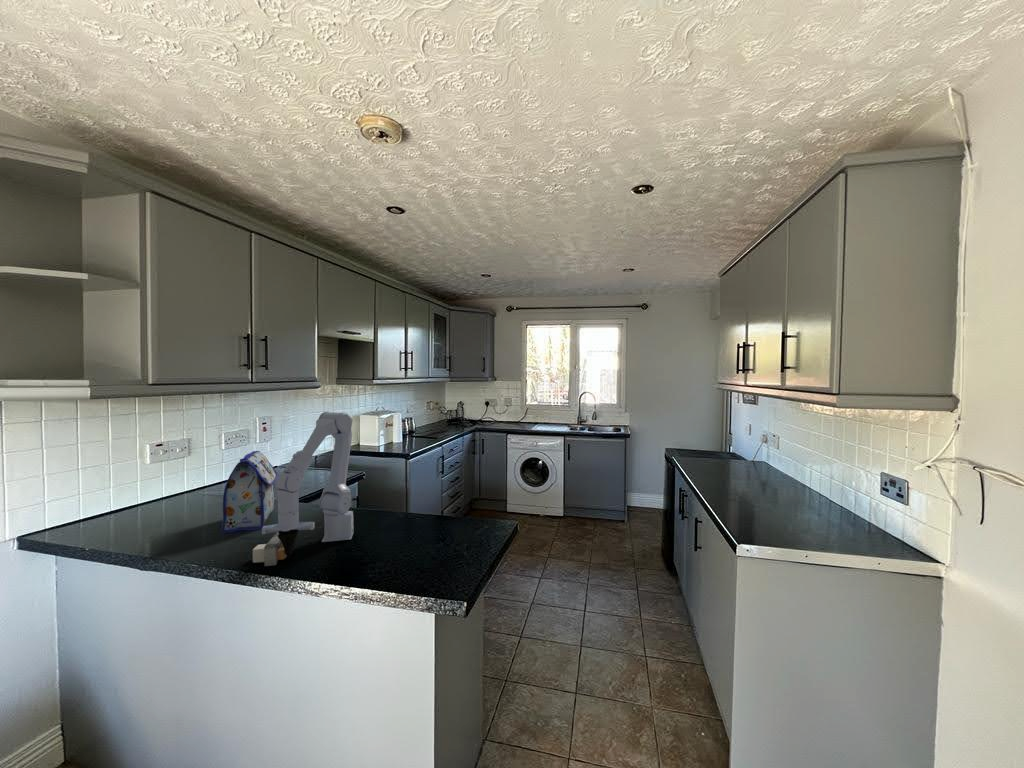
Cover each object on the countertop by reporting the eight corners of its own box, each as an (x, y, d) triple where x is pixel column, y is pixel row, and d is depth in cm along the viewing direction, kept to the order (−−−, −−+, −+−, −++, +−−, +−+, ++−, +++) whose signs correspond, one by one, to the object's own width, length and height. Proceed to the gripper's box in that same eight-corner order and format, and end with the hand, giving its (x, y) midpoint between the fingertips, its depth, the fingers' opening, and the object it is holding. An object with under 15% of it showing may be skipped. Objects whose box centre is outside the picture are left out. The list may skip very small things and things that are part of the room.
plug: (287, 555, 133) (287, 542, 133) (283, 560, 129) (282, 547, 129) (258, 557, 132) (258, 544, 132) (252, 562, 128) (252, 549, 128)
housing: (295, 543, 143) (294, 526, 143) (280, 564, 127) (280, 545, 127) (276, 545, 142) (276, 528, 142) (259, 566, 125) (259, 547, 125)
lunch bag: (271, 528, 158) (270, 457, 158) (219, 534, 152) (218, 460, 152) (280, 511, 179) (279, 448, 179) (234, 516, 173) (233, 451, 173)
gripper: (258, 516, 126) (258, 562, 126) (310, 512, 129) (311, 556, 130) (265, 509, 133) (266, 552, 133) (315, 506, 136) (316, 547, 136)
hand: (289, 554), depth 132 cm, fingers closed
